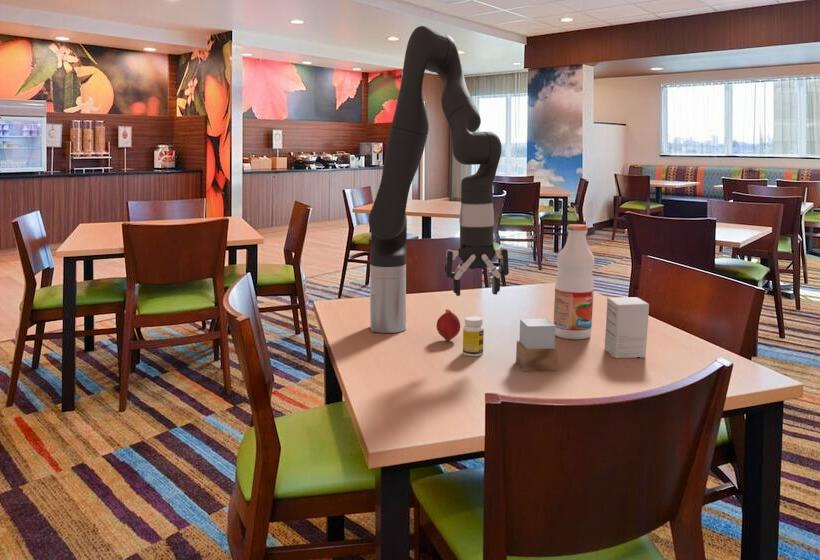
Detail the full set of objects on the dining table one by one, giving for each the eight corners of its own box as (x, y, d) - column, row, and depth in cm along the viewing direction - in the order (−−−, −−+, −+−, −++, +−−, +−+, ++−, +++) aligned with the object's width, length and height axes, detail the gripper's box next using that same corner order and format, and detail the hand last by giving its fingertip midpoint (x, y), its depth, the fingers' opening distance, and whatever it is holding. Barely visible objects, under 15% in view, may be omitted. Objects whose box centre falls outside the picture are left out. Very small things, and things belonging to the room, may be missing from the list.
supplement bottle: (482, 357, 151) (482, 321, 150) (461, 356, 152) (462, 320, 151) (484, 351, 156) (484, 316, 154) (463, 350, 157) (464, 315, 155)
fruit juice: (558, 328, 176) (563, 222, 170) (595, 333, 171) (601, 224, 166) (548, 337, 168) (553, 225, 162) (585, 342, 163) (592, 228, 158)
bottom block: (524, 372, 142) (525, 350, 141) (515, 362, 149) (516, 340, 148) (556, 371, 142) (557, 349, 141) (546, 361, 149) (547, 339, 148)
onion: (445, 336, 168) (446, 305, 167) (464, 340, 165) (465, 308, 163) (431, 341, 164) (432, 309, 162) (450, 345, 160) (451, 313, 159)
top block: (526, 349, 141) (527, 326, 140) (519, 341, 147) (520, 319, 146) (554, 348, 142) (555, 325, 141) (545, 340, 148) (546, 318, 147)
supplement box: (634, 348, 158) (638, 296, 156) (646, 358, 151) (650, 303, 149) (603, 348, 158) (606, 296, 156) (613, 358, 151) (617, 304, 148)
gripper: (448, 226, 144) (448, 299, 147) (512, 224, 146) (511, 297, 149) (442, 222, 151) (442, 292, 155) (503, 220, 153) (502, 289, 156)
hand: (476, 294), depth 152 cm, fingers open, 8 cm apart
